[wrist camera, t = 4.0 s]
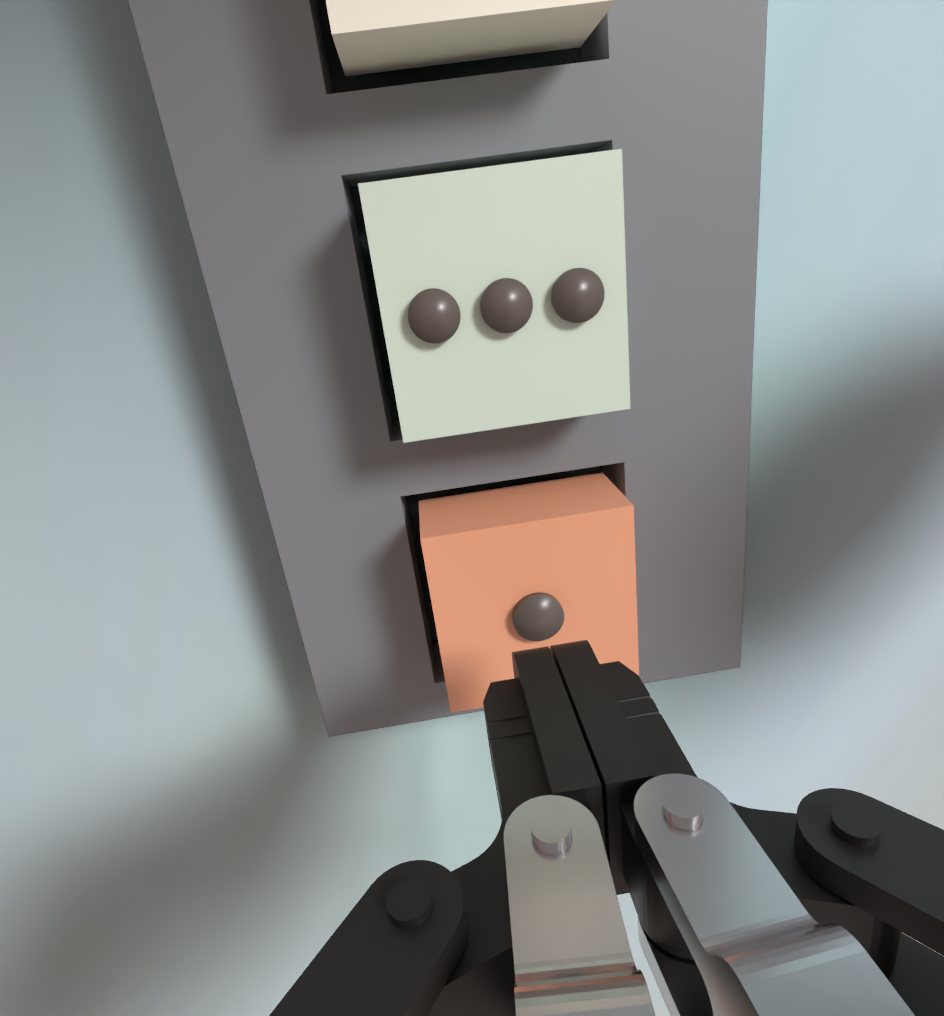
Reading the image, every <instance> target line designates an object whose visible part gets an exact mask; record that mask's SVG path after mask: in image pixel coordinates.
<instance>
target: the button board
mask: <svg viewBox="0 0 944 1016" xmlns="http://www.w3.org/2000/svg"><path fill="white" fill-rule="evenodd" d="M128 2H129V6H130V9H131V13H132V17H133V20H134V24H135V28H136V31H137V35H138V39H139V42H140V46H141V50H142V53H143V57H144V61H145V64H146V68H147V72H148V75H149V79H150V83H151V86H152V90H153V94H154V97H155V101H156V105H157V108H158V112H159V116H160V119H161V123H162V127H163V130H164V134H165V138H166V141H167V145H168V149H169V152H170V156H171V160H172V163H173V167H174V171H175V174H176V178H177V182H178V185H179V189H180V193H181V196H182V200H183V204H184V207H185V211H186V215H187V218H188V222H189V226H190V229H191V233H192V237H193V240H194V244H195V248H196V251H197V255H198V259H199V262H200V266H201V270H202V273H203V277H204V281H205V284H206V288H207V292H208V295H209V299H210V303H211V306H212V310H213V314H214V317H215V321H216V325H217V328H218V332H219V336H220V339H221V343H222V347H223V350H224V354H225V358H226V361H227V365H228V369H229V372H230V376H231V380H232V383H233V387H234V391H235V394H236V398H237V402H238V405H239V409H240V413H241V416H242V420H243V424H244V427H245V431H246V435H247V438H248V442H249V446H250V449H251V453H252V457H253V460H254V464H255V467H256V471H257V475H258V478H259V482H260V486H261V489H262V493H263V497H264V500H265V504H266V508H267V511H268V515H269V519H270V522H271V526H272V530H273V533H274V537H275V541H276V544H277V548H278V552H279V555H280V559H281V563H282V566H283V570H284V574H285V577H286V581H287V585H288V588H289V592H290V596H291V599H292V603H293V607H294V610H295V614H296V618H297V621H298V625H299V629H300V632H301V636H302V640H303V643H304V647H305V651H306V654H307V658H308V662H309V665H310V669H311V673H312V676H313V680H314V684H315V687H316V691H317V695H318V698H319V702H320V706H321V709H322V713H323V717H324V720H325V724H326V728H327V731H328V735H329V737H330V736H336V735H342V734H348V733H354V732H360V731H366V730H371V729H377V728H383V727H389V726H395V725H401V724H407V723H413V722H419V721H425V720H431V719H436V718H442V717H448V716H454V715H460V714H466V713H472V712H478V711H484V707H483V708H477V709H471V710H465V711H460V712H454V713H451V711H450V705H449V699H448V694H447V688H446V682H445V677H444V671H443V665H442V660H441V654H440V648H439V643H438V642H434V643H432V640H431V634H430V629H429V623H428V618H427V612H426V607H425V601H424V595H423V590H422V584H421V579H420V573H419V568H418V562H417V557H416V551H415V546H414V540H413V534H412V529H411V523H410V518H409V512H408V507H407V501H406V496H408V495H414V494H421V493H427V492H434V491H440V490H447V489H453V488H460V487H466V486H473V485H479V484H486V483H492V482H499V481H505V480H512V479H518V478H525V477H531V476H538V475H544V474H551V473H557V472H564V471H570V470H577V469H583V468H590V467H596V466H602V469H603V474H604V475H605V476H606V477H607V478H608V479H609V480H610V481H611V482H612V483H613V484H614V485H615V486H616V487H617V488H618V489H619V490H620V492H621V493H622V494H623V495H624V496H625V497H626V498H627V499H628V500H629V501H630V502H631V503H632V504H633V505H634V531H635V562H636V592H637V623H638V654H639V677H640V679H641V680H642V682H643V683H649V682H655V681H661V680H667V679H673V678H679V677H685V676H691V675H697V674H702V673H708V672H714V671H720V670H726V669H732V668H738V667H740V661H741V636H742V612H743V588H744V564H745V540H746V515H747V491H748V467H749V443H750V418H751V394H752V370H753V346H754V322H755V297H756V273H757V249H758V225H759V201H760V176H761V152H762V128H763V104H764V80H765V55H766V31H767V7H768V0H616V2H615V3H614V4H613V6H612V7H611V8H610V9H609V11H608V12H607V13H606V15H605V16H604V17H603V18H602V20H601V21H600V22H599V24H598V25H597V26H596V27H595V29H594V30H593V31H592V33H591V34H590V35H589V36H588V38H587V39H586V40H585V42H584V43H583V44H582V45H581V62H579V63H571V64H564V65H556V66H548V67H540V68H532V69H524V70H516V71H508V72H500V73H492V74H484V75H476V76H468V77H460V78H452V79H445V80H437V81H429V82H421V83H413V84H405V85H397V86H389V87H381V88H373V89H365V90H357V91H349V92H341V93H333V91H332V86H331V80H330V74H329V69H328V63H327V58H326V52H325V47H324V41H323V36H322V30H321V25H320V19H319V14H318V8H317V2H316V0H128ZM616 149H622V163H623V194H624V225H625V255H626V286H627V316H628V347H629V378H630V408H631V409H626V410H619V411H612V412H606V413H599V414H592V415H586V416H579V417H572V418H566V419H559V420H552V421H546V422H539V423H532V424H526V425H519V426H512V427H506V428H499V429H492V430H486V431H479V432H472V433H466V434H459V435H452V436H446V437H439V438H433V439H426V440H419V441H413V442H406V443H403V438H402V432H401V426H400V421H395V422H392V418H391V413H390V407H389V401H388V396H387V390H386V385H385V379H384V374H383V368H382V363H381V357H380V352H379V346H378V341H377V335H376V329H375V324H374V318H373V313H372V307H371V302H370V296H369V291H368V285H367V280H366V274H365V268H364V263H363V257H362V252H361V246H360V241H359V235H358V230H357V224H356V219H355V213H354V208H353V202H352V196H351V191H350V187H357V186H358V184H359V183H366V182H374V181H381V180H389V179H397V178H404V177H412V176H419V175H427V174H434V173H442V172H449V171H457V170H465V169H472V168H480V167H487V166H495V165H502V164H510V163H518V162H525V161H533V160H540V159H548V158H555V157H563V156H570V155H578V154H586V153H593V152H601V151H608V150H616Z"/></svg>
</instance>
